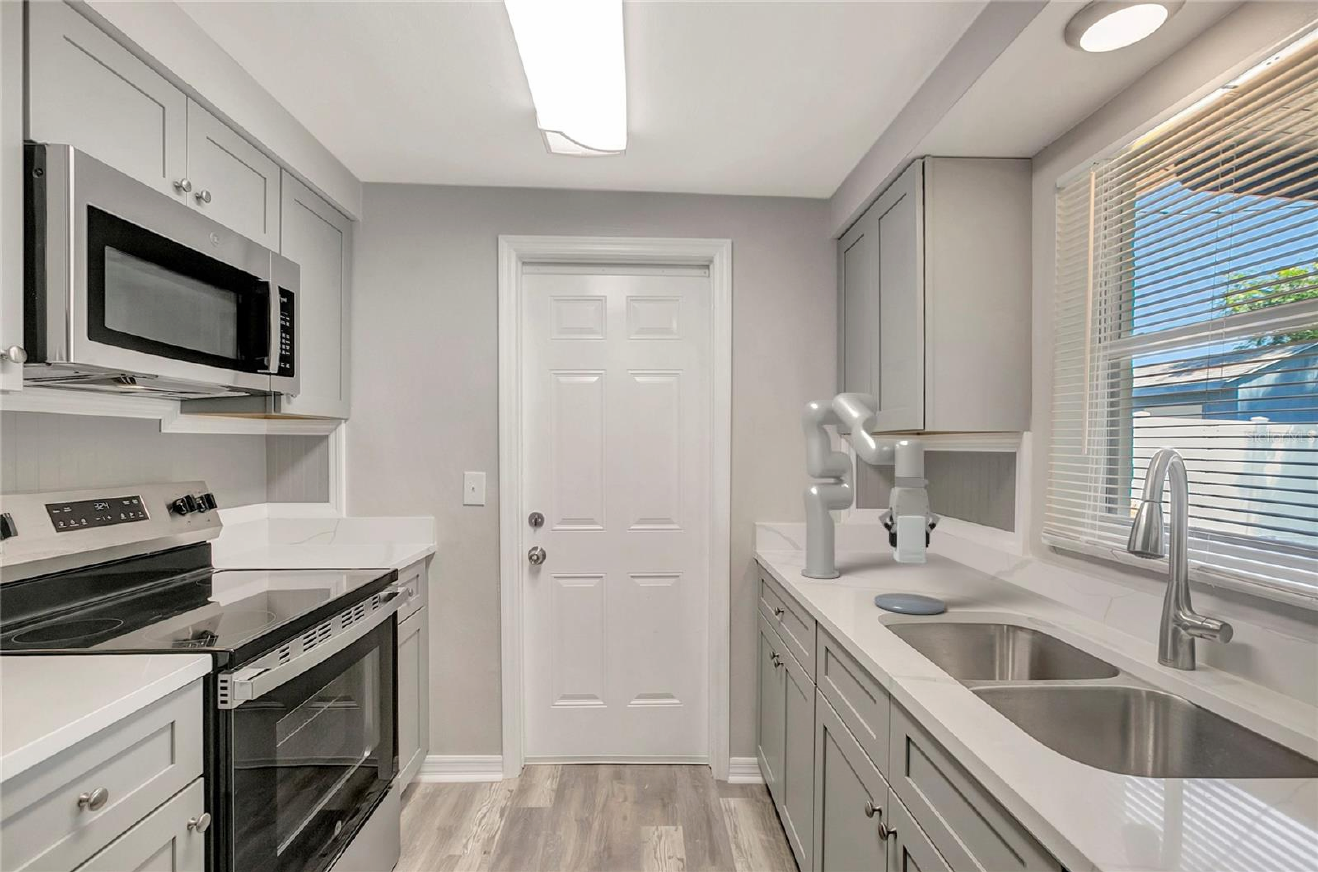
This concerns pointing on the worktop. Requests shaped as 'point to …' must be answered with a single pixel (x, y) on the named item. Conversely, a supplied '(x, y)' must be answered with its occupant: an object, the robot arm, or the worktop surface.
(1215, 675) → the worktop surface
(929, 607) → the slate dish
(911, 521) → the supplement box
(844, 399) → the robot arm
